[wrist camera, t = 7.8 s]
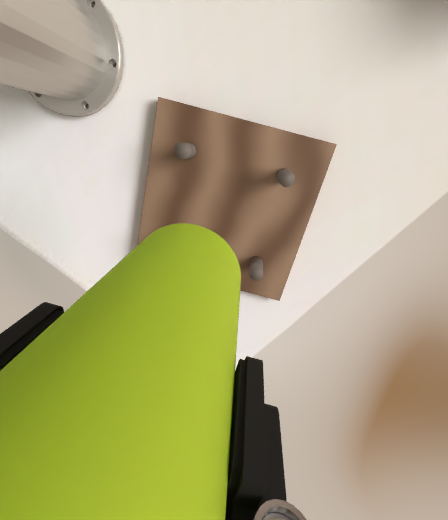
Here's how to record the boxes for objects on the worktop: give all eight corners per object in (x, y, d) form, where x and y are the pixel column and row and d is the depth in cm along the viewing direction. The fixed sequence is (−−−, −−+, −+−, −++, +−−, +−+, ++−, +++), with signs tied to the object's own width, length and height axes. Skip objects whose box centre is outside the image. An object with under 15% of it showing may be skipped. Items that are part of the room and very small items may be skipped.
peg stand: (139, 257, 41) (122, 273, 36) (162, 99, 33) (145, 90, 28) (278, 295, 41) (281, 316, 35) (333, 144, 33) (347, 144, 28)
